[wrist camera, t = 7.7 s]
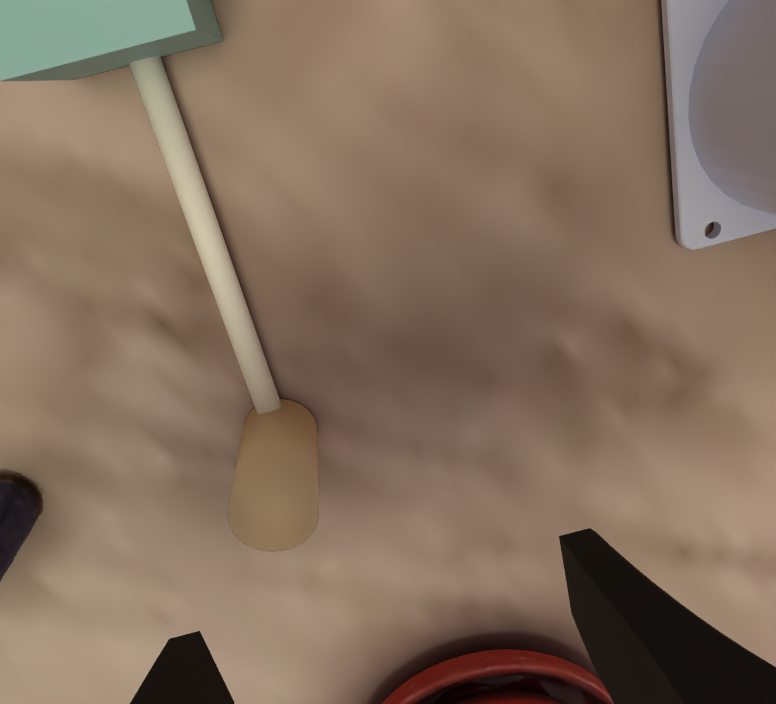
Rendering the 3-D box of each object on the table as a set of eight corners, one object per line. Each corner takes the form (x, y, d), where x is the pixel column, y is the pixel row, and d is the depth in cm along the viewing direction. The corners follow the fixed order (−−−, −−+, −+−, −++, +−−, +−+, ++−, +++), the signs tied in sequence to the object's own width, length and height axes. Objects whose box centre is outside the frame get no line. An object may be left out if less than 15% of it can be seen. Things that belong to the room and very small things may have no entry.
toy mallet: (166, -142, 16) (115, -221, 11) (348, 446, 22) (357, 530, 18) (1, -99, 16) (-110, -163, 11) (233, 477, 22) (216, 568, 18)
